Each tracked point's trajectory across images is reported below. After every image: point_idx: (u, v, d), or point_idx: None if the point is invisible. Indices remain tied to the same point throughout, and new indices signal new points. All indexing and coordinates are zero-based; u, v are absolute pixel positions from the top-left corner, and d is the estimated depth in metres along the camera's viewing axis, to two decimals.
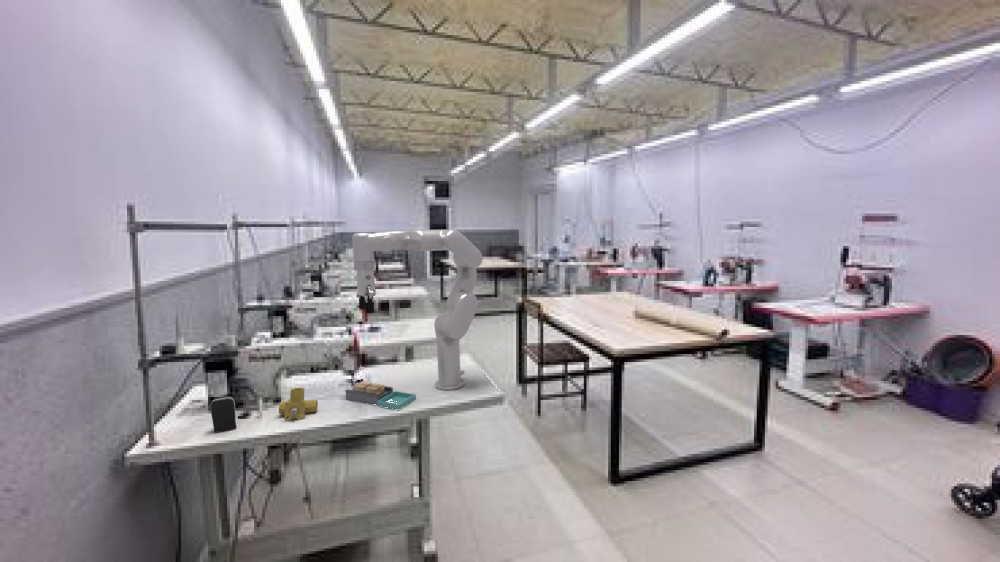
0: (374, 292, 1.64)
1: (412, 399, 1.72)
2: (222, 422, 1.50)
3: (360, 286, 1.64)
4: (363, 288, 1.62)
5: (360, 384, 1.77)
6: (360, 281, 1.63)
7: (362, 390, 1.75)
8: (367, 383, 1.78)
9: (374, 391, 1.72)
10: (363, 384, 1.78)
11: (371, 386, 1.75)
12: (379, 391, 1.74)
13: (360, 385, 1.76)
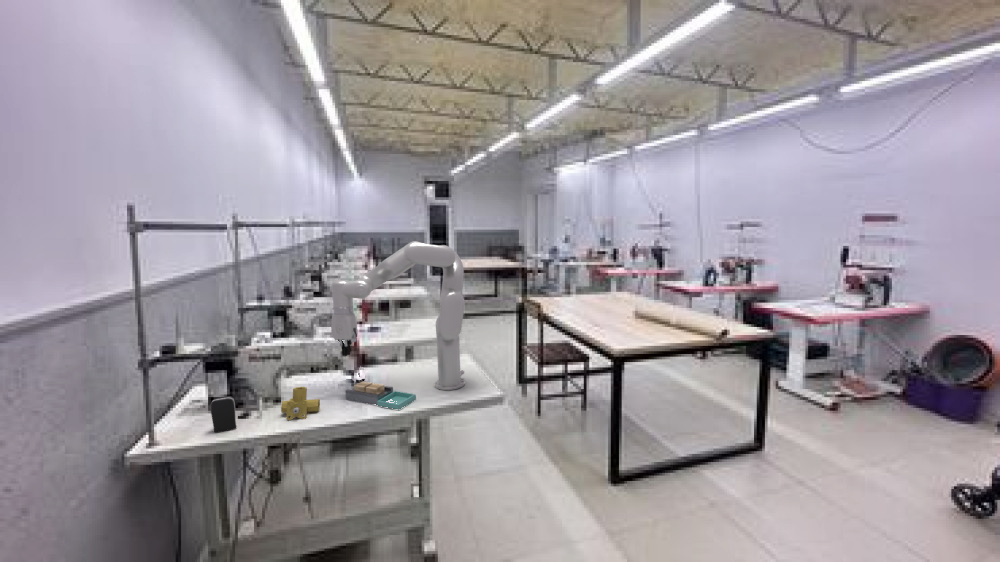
0: None
1: (412, 399, 1.72)
2: (222, 422, 1.50)
3: None
4: None
5: (360, 384, 1.77)
6: None
7: (362, 390, 1.75)
8: (367, 383, 1.78)
9: (374, 391, 1.72)
10: (363, 384, 1.78)
11: (371, 386, 1.75)
12: (379, 391, 1.74)
13: (360, 385, 1.76)
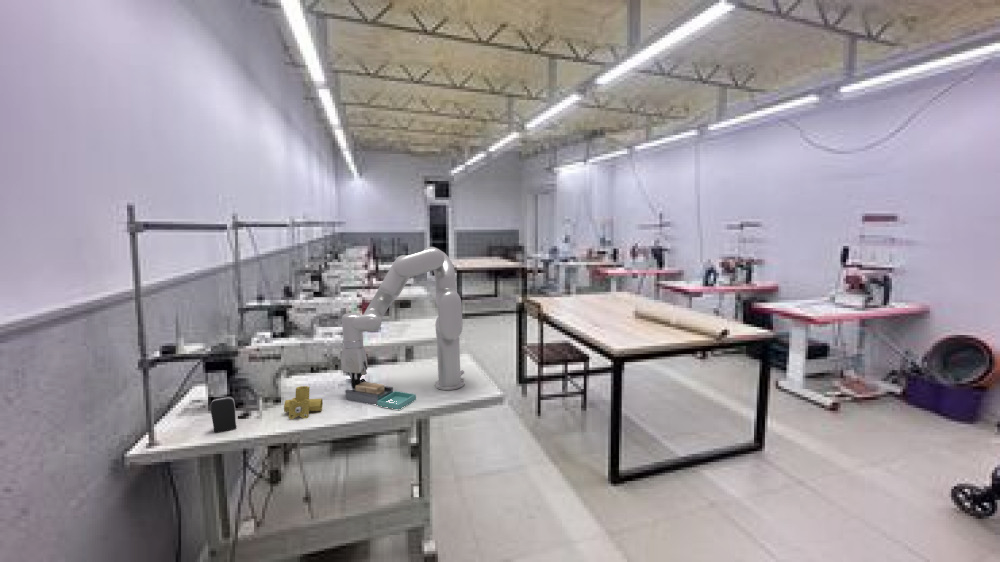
0: None
1: (412, 399, 1.72)
2: (222, 422, 1.50)
3: None
4: None
5: (361, 384, 1.77)
6: None
7: (363, 390, 1.74)
8: (368, 383, 1.78)
9: (374, 391, 1.72)
10: (365, 384, 1.77)
11: (371, 386, 1.75)
12: (379, 391, 1.74)
13: (362, 386, 1.75)
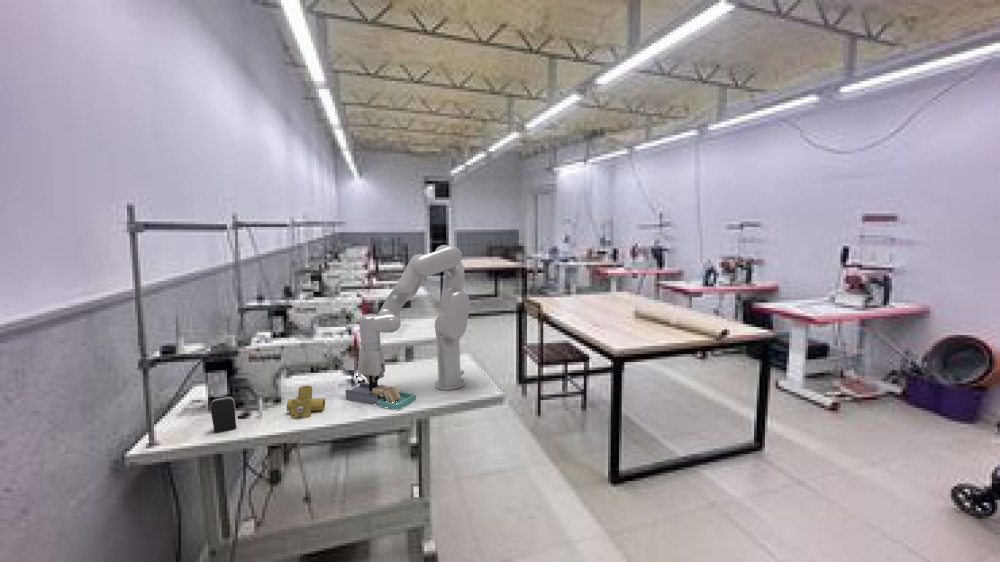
0: None
1: (412, 399, 1.72)
2: (222, 422, 1.50)
3: None
4: None
5: (378, 387, 1.73)
6: None
7: (380, 394, 1.70)
8: (385, 387, 1.74)
9: (390, 401, 1.69)
10: (382, 387, 1.73)
11: (391, 392, 1.71)
12: None
13: (378, 389, 1.71)
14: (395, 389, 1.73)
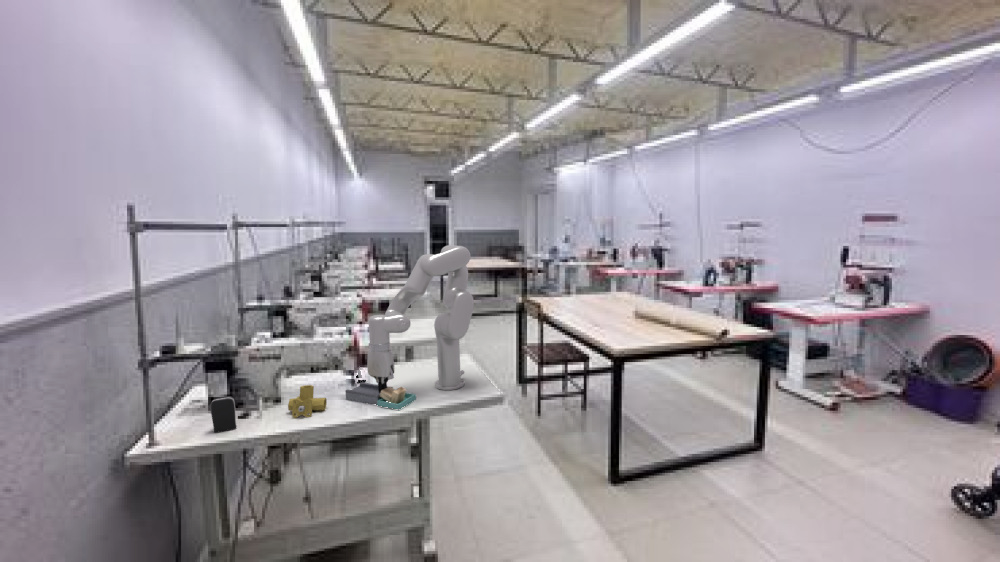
0: None
1: (412, 399, 1.72)
2: (222, 422, 1.50)
3: None
4: None
5: (387, 391, 1.71)
6: None
7: (388, 399, 1.69)
8: None
9: (393, 402, 1.69)
10: (390, 391, 1.72)
11: (399, 396, 1.69)
12: None
13: (387, 393, 1.69)
14: (403, 393, 1.71)
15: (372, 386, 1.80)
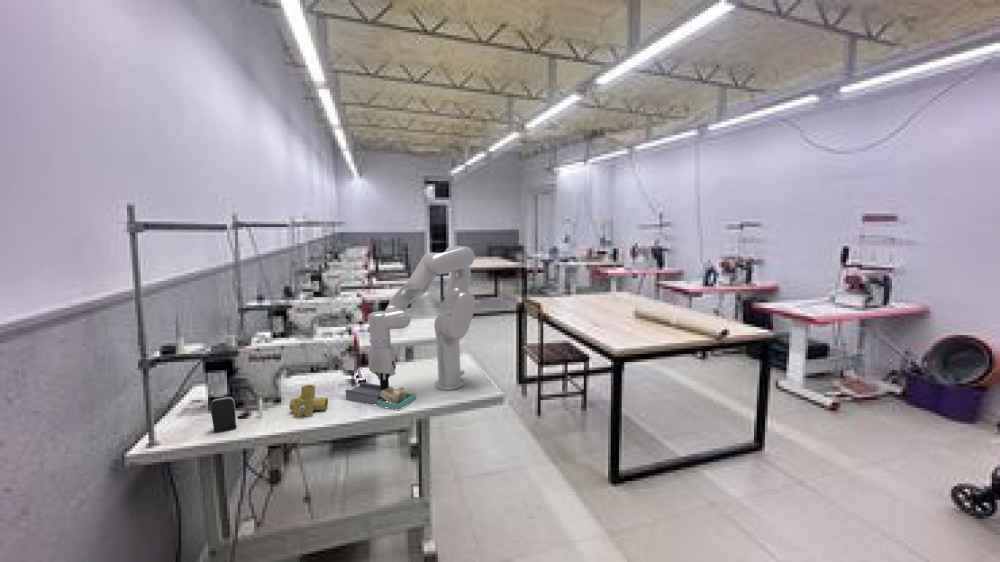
0: None
1: (412, 399, 1.72)
2: (222, 422, 1.50)
3: None
4: None
5: (388, 391, 1.71)
6: None
7: (388, 399, 1.69)
8: None
9: (393, 402, 1.69)
10: (391, 391, 1.72)
11: (400, 396, 1.69)
12: None
13: (388, 394, 1.69)
14: (404, 393, 1.71)
15: (372, 386, 1.80)
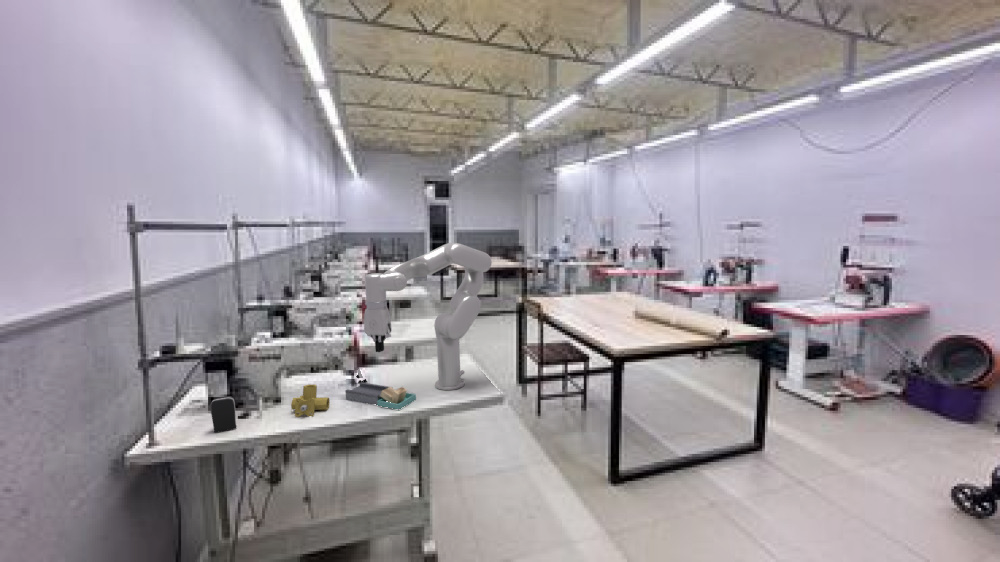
0: None
1: (412, 399, 1.72)
2: (222, 422, 1.50)
3: None
4: None
5: (388, 391, 1.71)
6: None
7: (388, 399, 1.69)
8: None
9: (393, 402, 1.69)
10: (391, 391, 1.72)
11: (400, 396, 1.69)
12: None
13: (388, 394, 1.69)
14: (404, 393, 1.71)
15: (372, 386, 1.80)
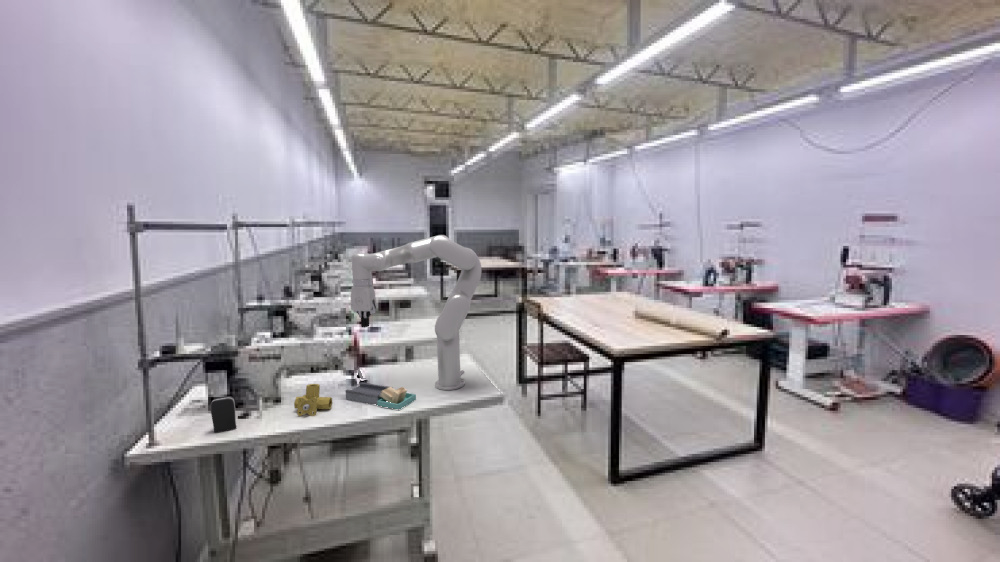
0: None
1: (412, 399, 1.72)
2: (222, 422, 1.50)
3: None
4: None
5: (388, 391, 1.71)
6: None
7: (388, 399, 1.69)
8: None
9: (393, 402, 1.69)
10: (391, 391, 1.72)
11: (400, 396, 1.69)
12: None
13: (388, 394, 1.69)
14: (404, 393, 1.71)
15: (372, 386, 1.80)
